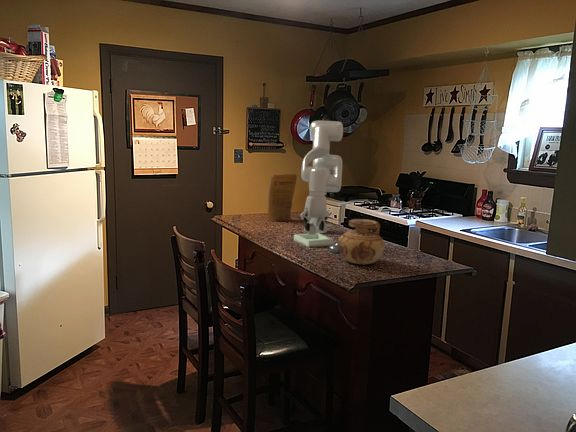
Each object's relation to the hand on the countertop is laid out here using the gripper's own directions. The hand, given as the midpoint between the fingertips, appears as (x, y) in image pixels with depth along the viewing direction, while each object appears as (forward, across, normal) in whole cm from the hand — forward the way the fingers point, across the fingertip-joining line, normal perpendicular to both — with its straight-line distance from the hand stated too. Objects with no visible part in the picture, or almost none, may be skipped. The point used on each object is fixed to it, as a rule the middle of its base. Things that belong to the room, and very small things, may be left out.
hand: (314, 230), depth 233 cm
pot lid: (+6, -2, +18) cm, 19 cm away
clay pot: (+7, -1, +36) cm, 36 cm away
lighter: (+2, 0, 0) cm, 2 cm away
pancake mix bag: (+6, -11, -56) cm, 58 cm away
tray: (+6, 0, 0) cm, 6 cm away
